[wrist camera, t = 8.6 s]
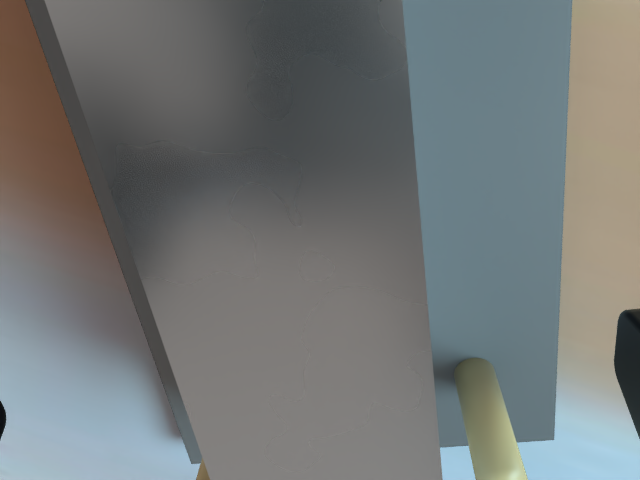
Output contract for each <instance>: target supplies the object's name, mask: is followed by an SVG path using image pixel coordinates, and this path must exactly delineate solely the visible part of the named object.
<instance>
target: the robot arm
mask: <svg viewBox="0 0 640 480" xmlns="http://www.w3.org/2000/svg"><path fill="white" fill-rule="evenodd" d="M614 366H615V372H616V376H617V379H618V382H619V385H620V388H621V390H622V393H623V396H624V398H625V401H626V404H627V406H628V409H629V412H630V415H631V417H632V420H633V423H634V425H635V428H636V431H637V433H638V436H639V439H640V309H631V310H625V311H623V312H622V313H621V314H620V316H619V319H618V326H617V336H616V346H615V356H614ZM5 425H6V412H5V409H4V407H3V405H2V403H1V401H0V439H1V436H2V434H3V431H4V428H5Z"/></svg>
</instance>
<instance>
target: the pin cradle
mask: <svg viewBox="0 0 640 480" xmlns="http://www.w3.org/2000/svg"><path fill="white" fill-rule="evenodd" d="M25 2H26V4H27V7H28V10H29V13H30V16H31V18H32V21H33V24H34V27H35V29H36V32H37V35H38V38H39V41H40V43H41V46H42V49H43V52H44V54H45V57H46V60H47V63H48V66H49V68H50V71H51V74H52V77H53V80H54V82H55V85H56V88H57V91H58V93H59V96H60V99H61V102H62V105H63V107H64V110H65V113H66V116H67V119H68V121H69V124H70V127H71V130H72V132H73V135H74V138H75V141H76V144H77V146H78V149H79V152H80V155H81V158H82V160H83V163H84V166H85V169H86V171H87V174H88V177H89V180H90V183H91V185H92V188H93V191H94V194H95V197H96V199H97V202H98V205H99V208H100V210H101V213H102V216H103V219H104V222H105V224H106V227H107V230H108V233H109V236H110V238H111V241H112V244H113V247H114V249H115V252H116V255H117V258H118V261H119V263H120V266H121V269H122V272H123V275H124V277H125V280H126V283H127V286H128V288H129V291H130V294H131V297H132V300H133V302H134V305H135V308H136V311H137V314H138V316H139V319H140V322H141V325H142V327H143V330H144V333H145V336H146V339H147V341H148V344H149V347H150V350H151V353H152V355H153V358H154V361H155V364H156V366H157V369H158V372H159V375H160V378H161V380H162V383H163V386H164V389H165V392H166V394H167V397H168V400H169V403H170V405H171V408H172V411H173V414H174V417H175V419H176V422H177V425H178V428H179V431H180V433H181V436H182V439H183V442H184V444H185V447H186V450H187V453H188V456H189V458H190V461H191V464H197V463H201V464H200V468H199V471H198V475H197V479H196V480H210V478H209V475H208V472H207V469H206V466H205V464H204V461H203V458H202V455H201V452H200V449H199V446H198V443H197V440H196V437H195V435H194V432H193V429H192V426H191V423H190V420H189V417H188V414H187V411H186V409H185V406H184V403H183V400H182V397H181V394H180V391H179V388H178V385H177V383H176V380H175V377H174V374H173V371H172V368H171V365H170V362H169V359H168V356H167V354H166V351H165V348H164V345H163V342H162V339H161V336H160V333H159V330H158V328H157V325H156V322H155V319H154V316H153V313H152V310H151V307H150V304H149V301H148V299H147V296H146V293H145V290H144V287H143V284H142V281H141V278H140V275H139V273H138V270H137V267H136V264H135V261H134V258H133V255H132V252H131V249H130V247H129V244H128V241H127V238H126V235H125V232H124V229H123V226H122V223H121V220H120V218H119V215H118V212H117V209H116V206H115V203H114V200H113V197H112V194H111V192H110V189H109V186H108V183H107V180H106V177H105V174H104V171H103V168H102V166H101V163H100V160H99V157H98V154H97V151H96V148H95V145H94V142H93V139H92V137H91V134H90V131H89V128H88V125H87V122H86V119H85V116H84V113H83V111H82V108H81V105H80V102H79V99H78V96H77V93H76V90H75V87H74V84H73V82H72V79H71V76H70V73H69V70H68V67H67V64H66V61H65V58H64V56H63V53H62V50H61V47H60V44H59V41H58V38H57V35H56V32H55V30H54V27H53V24H52V21H51V18H50V15H49V12H48V9H47V6H46V3H45V1H44V0H25ZM402 3H403V15H404V27H405V39H406V51H407V63H408V75H409V87H410V99H411V111H412V123H413V134H414V146H415V158H416V170H417V182H418V194H419V206H420V218H421V230H422V242H423V254H424V266H425V278H426V290H427V302H428V314H429V326H430V338H431V350H432V362H433V373H434V385H435V397H436V409H437V421H438V433H439V445H440V447H454V446H469V449H470V454H471V459H472V464H473V468H474V473H475V478H476V480H528V479H527V475H526V472H525V469H524V466H523V462H522V459H521V456H520V452H519V449H518V446H517V442H530V441H545V440H554V427H555V403H556V379H557V355H558V330H559V306H560V282H561V258H562V234H563V210H564V186H565V162H566V138H567V113H568V89H569V65H570V41H571V17H572V0H402Z"/></svg>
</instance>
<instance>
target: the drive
mask: <svg viewBox="0 0 640 480" xmlns="http://www.w3.org/2000/svg"><path fill="white" fill-rule="evenodd" d="M44 1H45V3H46V6H47V9H48V12H49V15H50V18H51V21H52V24H53V27H54V30H55V32H56V35H57V38H58V41H59V44H60V47H61V50H62V53H63V56H64V58H65V61H66V64H67V67H68V70H69V73H70V76H71V79H72V82H73V84H74V87H75V90H76V93H77V96H78V99H79V102H80V105H81V108H82V111H83V113H84V116H85V119H86V122H87V125H88V128H89V131H90V134H91V137H92V139H93V142H94V145H95V148H96V151H97V154H98V157H99V160H100V163H101V166H102V168H103V171H104V174H105V177H106V180H107V183H108V186H109V189H110V192H111V194H112V197H113V200H114V203H115V206H116V209H117V212H118V215H119V218H120V220H121V223H122V226H123V229H124V232H125V235H126V238H127V241H128V244H129V247H130V249H131V252H132V255H133V258H134V261H135V264H136V267H137V270H138V273H139V275H140V278H141V281H142V284H143V287H144V290H145V293H146V296H147V299H148V301H149V304H150V307H151V310H152V313H153V316H154V319H155V322H156V325H157V328H158V330H159V333H160V336H161V339H162V342H163V345H164V348H165V351H166V354H167V356H168V359H169V362H170V365H171V368H172V371H173V374H174V377H175V380H176V383H177V385H178V388H179V391H180V394H181V397H182V400H183V403H184V406H185V409H186V411H187V414H188V417H189V420H190V423H191V426H192V429H193V432H194V435H195V437H196V440H197V443H198V446H199V449H200V452H201V455H202V458H203V461H204V464H205V466H206V469H207V472H208V475H209V478H210V480H442V469H441V457H440V445H439V433H438V421H437V409H436V397H435V385H434V373H433V362H432V350H431V338H430V326H429V314H428V302H427V290H426V278H425V266H424V254H423V242H422V230H421V218H420V206H419V194H418V182H417V170H416V158H415V146H414V134H413V123H412V111H411V99H410V87H409V75H408V63H407V51H406V39H405V27H404V15H403V3H402V0H44Z"/></svg>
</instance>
